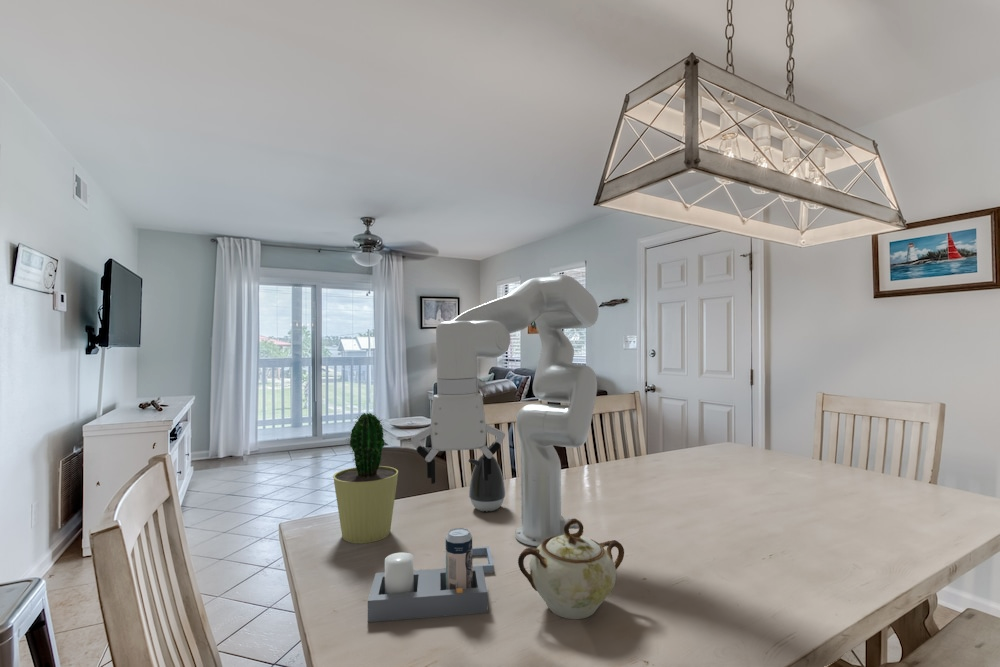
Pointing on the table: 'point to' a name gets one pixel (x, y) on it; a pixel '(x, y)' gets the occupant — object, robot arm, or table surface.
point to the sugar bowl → (572, 572)
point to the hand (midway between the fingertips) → (459, 480)
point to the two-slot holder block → (422, 592)
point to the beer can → (459, 559)
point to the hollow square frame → (486, 551)
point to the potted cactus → (366, 486)
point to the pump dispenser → (486, 486)
